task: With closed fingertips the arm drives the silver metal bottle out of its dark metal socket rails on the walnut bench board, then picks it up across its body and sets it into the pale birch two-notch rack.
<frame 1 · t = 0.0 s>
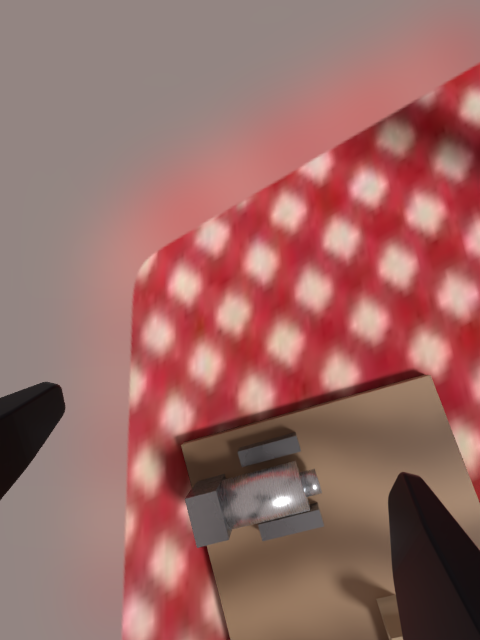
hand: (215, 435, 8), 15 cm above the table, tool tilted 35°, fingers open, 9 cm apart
socket: (279, 481, 21), resting on board
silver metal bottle: (258, 487, 21), point 1 cm above the table, touching board
board: (342, 543, 21), on the table
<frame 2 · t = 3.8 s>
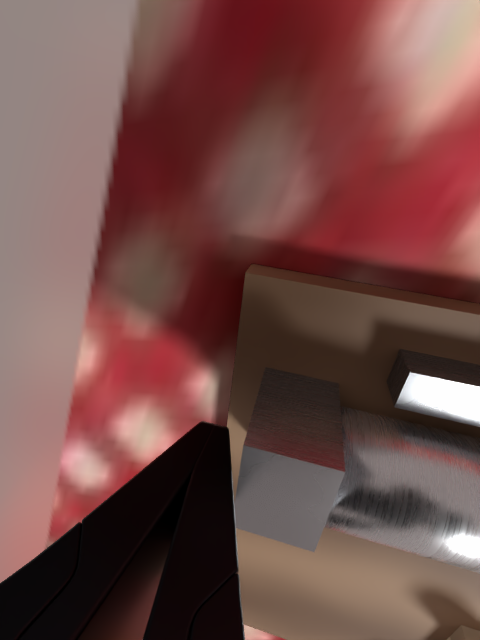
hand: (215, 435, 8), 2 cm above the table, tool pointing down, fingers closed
socket: (441, 450, 9), resting on board
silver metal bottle: (399, 439, 9), point 1 cm above the table, touching gripper
board: (459, 550, 11), on the table
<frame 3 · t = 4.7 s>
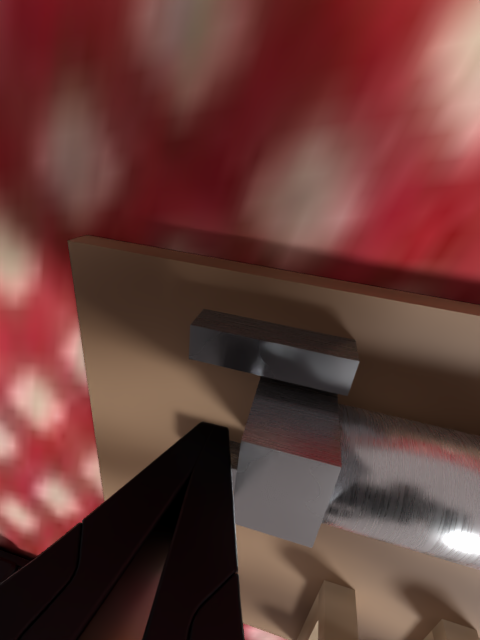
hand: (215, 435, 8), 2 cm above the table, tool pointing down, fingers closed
socket: (261, 405, 9), resting on board
rack: (373, 637, 13), resting on board
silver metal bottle: (397, 436, 9), point 1 cm above the table, touching board, gripper
board: (317, 508, 12), on the table
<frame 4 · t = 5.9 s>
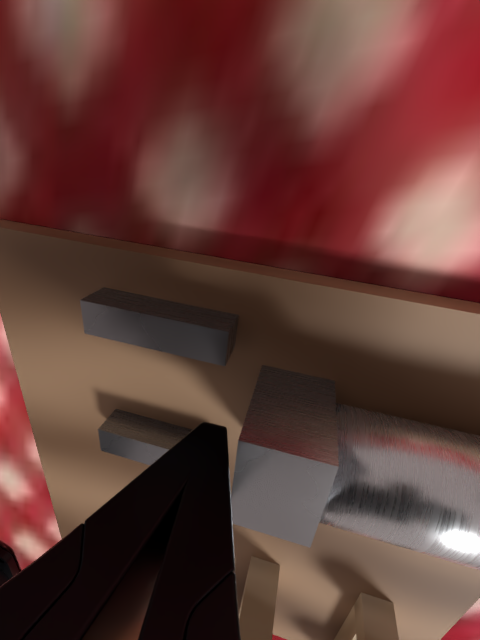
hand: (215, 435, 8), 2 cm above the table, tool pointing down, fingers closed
socket: (168, 381, 10), resting on board
rack: (304, 613, 14), resting on board
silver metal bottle: (396, 436, 9), point 1 cm above the table, touching board, gripper
board: (241, 485, 12), on the table
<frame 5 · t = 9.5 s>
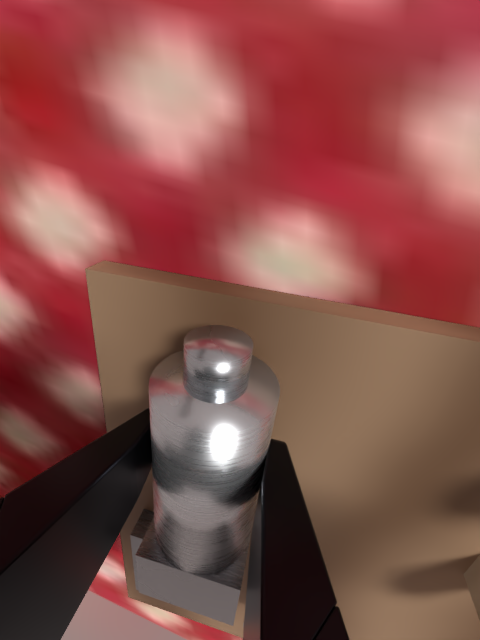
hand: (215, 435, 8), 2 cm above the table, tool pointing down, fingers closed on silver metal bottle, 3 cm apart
socket: (209, 558, 13), resting on board
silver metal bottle: (222, 432, 9), point 1 cm above the table, touching board, gripper
board: (353, 536, 11), on the table
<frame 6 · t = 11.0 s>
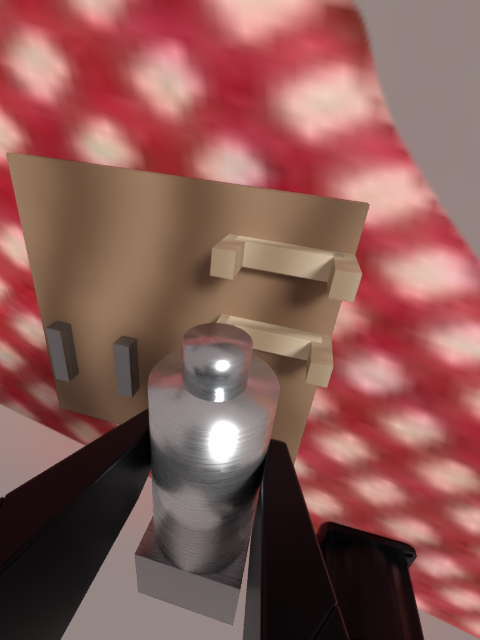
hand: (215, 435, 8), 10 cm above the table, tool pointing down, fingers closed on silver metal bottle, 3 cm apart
socket: (99, 355, 21), resting on board
rack: (280, 298, 16), resting on board
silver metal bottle: (222, 431, 9), point 9 cm above the table, touching gripper
board: (175, 329, 20), on the table
when the fingers open (4 cm above the table, at t = 12.8 s): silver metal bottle drops 1 cm, resting on rack.
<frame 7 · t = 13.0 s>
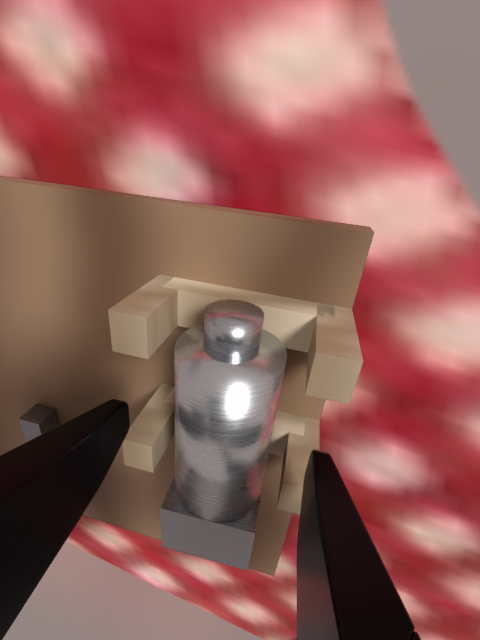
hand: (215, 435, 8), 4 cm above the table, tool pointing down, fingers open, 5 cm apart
socket: (13, 425, 16), resting on board
rack: (241, 365, 11), resting on board
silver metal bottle: (233, 401, 10), point 2 cm above the table, touching rack
board: (108, 395, 14), on the table
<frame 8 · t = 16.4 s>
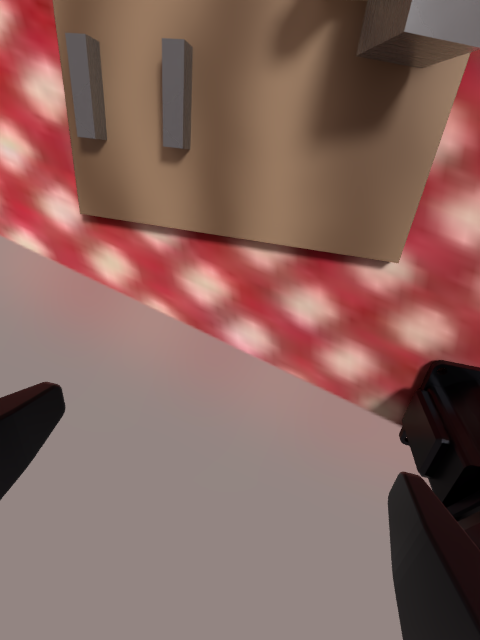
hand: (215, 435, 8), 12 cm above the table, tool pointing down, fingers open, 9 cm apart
socket: (137, 96, 15), resting on board
board: (246, 34, 14), on the table
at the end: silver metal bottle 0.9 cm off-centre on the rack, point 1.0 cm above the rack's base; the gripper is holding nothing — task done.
